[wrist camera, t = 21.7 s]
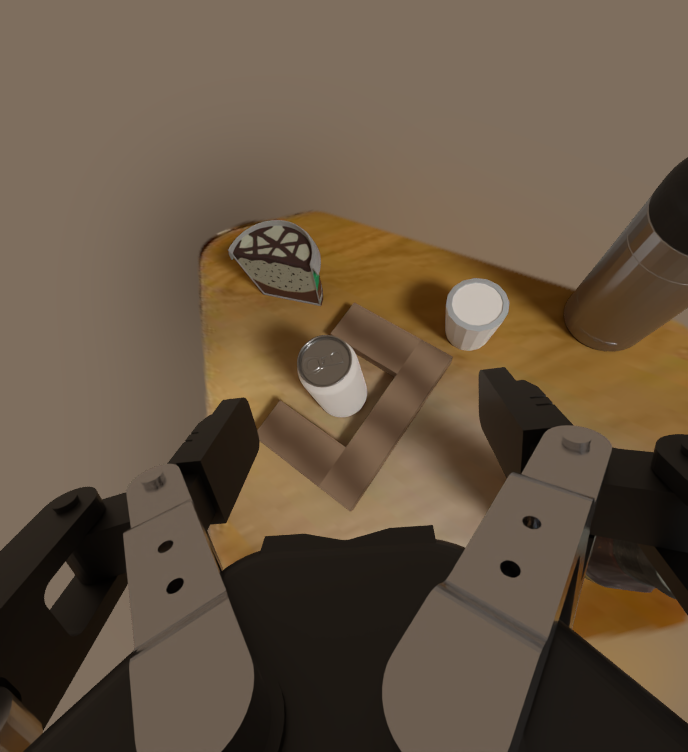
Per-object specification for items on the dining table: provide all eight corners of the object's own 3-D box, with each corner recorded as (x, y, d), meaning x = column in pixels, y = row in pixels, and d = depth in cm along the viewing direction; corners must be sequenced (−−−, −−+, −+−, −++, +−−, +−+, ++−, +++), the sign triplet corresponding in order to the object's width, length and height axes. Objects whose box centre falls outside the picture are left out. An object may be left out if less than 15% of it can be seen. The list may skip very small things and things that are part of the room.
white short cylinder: (497, 354, 46) (512, 330, 39) (441, 355, 47) (447, 331, 40) (492, 306, 48) (506, 275, 41) (439, 308, 49) (444, 279, 43)
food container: (343, 272, 54) (330, 223, 44) (330, 307, 52) (314, 265, 43) (269, 259, 57) (242, 210, 47) (254, 292, 55) (224, 249, 46)
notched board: (356, 309, 51) (354, 302, 49) (450, 362, 46) (452, 356, 44) (259, 438, 47) (253, 435, 45) (352, 510, 42) (349, 511, 40)
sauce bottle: (509, 509, 40) (598, 515, 21) (563, 490, 40) (701, 478, 21) (539, 573, 37) (671, 642, 19) (597, 553, 37) (787, 602, 19)
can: (313, 379, 49) (286, 342, 37) (359, 364, 48) (346, 322, 37) (325, 424, 46) (300, 399, 35) (374, 409, 46) (364, 379, 35)
